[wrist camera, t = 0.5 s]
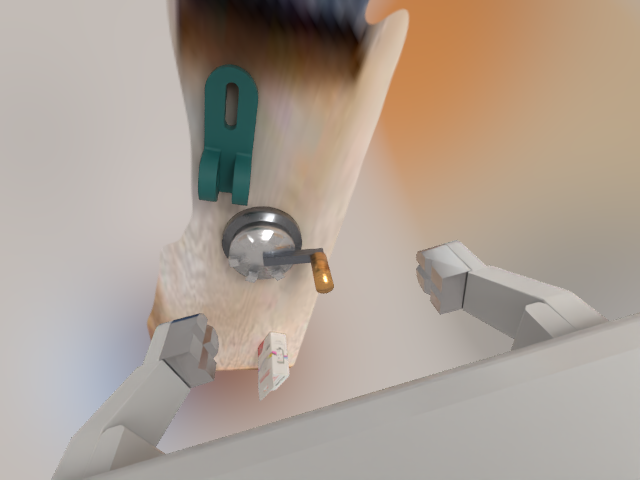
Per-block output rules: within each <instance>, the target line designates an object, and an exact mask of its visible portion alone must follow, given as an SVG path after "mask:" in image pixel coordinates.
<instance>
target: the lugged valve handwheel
mask: <svg viewBox="0 0 640 480" xmlns="http://www.w3.org/2000/svg"><path fill="white" fill-rule="evenodd" d="M228 261H229V265H230V267H233V268H234V269H235V270H236V271H237V272H239V273H240V274H242V275H244V276H246V277H245V280H246V281H249V282H253V283H254V282H255V281H256V279H271V278H275V279H276V280H277V281H278V280H280V279H282V278H284V277H285V272H287V271H288V270H289V269H290V268H291V267H292V265H293V264H299V263H311V266H312V271H313V276H314V281H315V286H316V290H317V292H319V293H328V292H330V291H332V289H333V288H334V284H333V281H332V277H331V273H330V269H329V265H328V262H327V258H326V255H325V254H324V252H323V249H322V248H319V249H306V250H295V244H294V239H293V236H292V235H291V233H290V232H289V231H288V230H287V229H286V228H285V227H283V226H282V225H280V224H277V223H274V222H270V221H255V222H251V223H248V224H246V225H244V226H242V227H241V228H239V229H238V230H237V231H236V232H235V233H234V235H233V237H232V239H231V244H230V252H229V258H228Z"/></svg>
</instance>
